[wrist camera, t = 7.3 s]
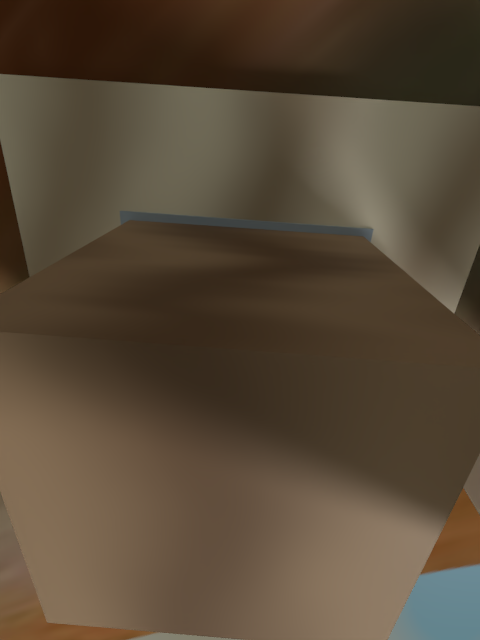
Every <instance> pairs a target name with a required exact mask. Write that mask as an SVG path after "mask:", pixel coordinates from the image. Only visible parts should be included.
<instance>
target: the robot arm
mask: <svg viewBox="0 0 480 640" xmlns="http://www.w3.org/2000/svg"><path fill="white" fill-rule="evenodd" d="M463 488H464V490H465V491H466V493H467V495H468V496H469V498H470V500H471V501H472V503H473V505H474V506H475V508H476V510H477V511H478V513H479V515H480V454H479V456H478V458H477V460H476V462H475V464H474V466H473V468H472V470H471V472H470V474H469V476H468V478H467V480H466V482H465V485H464V487H463Z"/></svg>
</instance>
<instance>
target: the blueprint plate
mask: <svg viewBox="0 0 480 640" xmlns="http://www.w3.org/2000/svg"><path fill="white" fill-rule="evenodd" d="M0 141H1V146H2V150H3V155H4V160H5V164H6V169H7V174H8V179H9V183H10V188H11V193H12V197H13V202H14V207H15V211H16V216H17V221H18V225H19V230H20V235H21V239H22V244H23V249H24V253H25V258H26V263H27V267H28V272H29V277H31V276H33V275H34V274H36V273H38V272H40V271H41V270H43V269H45V268H47V267H48V266H50V265H52V264H54V263H55V262H57V261H59V260H61V259H62V258H64V257H66V256H68V255H69V254H71V253H73V252H75V251H76V250H78V249H80V248H82V247H83V246H85V245H87V244H89V243H90V242H92V241H94V240H96V239H97V238H99V237H101V236H103V235H104V234H106V233H108V232H109V231H111V230H113V229H115V228H116V227H118V226H120V225H122V224H123V223H125V222H127V221H129V220H135V221H150V222H164V223H179V224H193V225H208V226H222V227H236V228H251V229H265V230H280V231H294V232H309V233H323V234H337V235H352V236H364V237H365V238H366V239H367V240H368V241H369V242H371V243H372V244H373V245H374V246H375V247H377V248H378V249H379V250H380V251H381V252H382V253H384V254H385V255H386V256H387V257H388V258H389V259H391V260H392V261H393V262H394V263H395V264H396V265H398V266H399V267H400V268H401V269H402V270H404V271H405V272H406V273H407V274H408V275H409V276H411V277H412V278H413V279H414V280H415V281H416V282H418V283H419V284H420V285H421V286H422V287H423V288H425V289H426V290H427V291H428V292H429V293H430V294H432V295H433V296H434V297H435V298H436V299H438V300H439V301H440V302H441V303H442V304H443V305H445V306H446V307H447V308H448V309H449V310H450V311H452V312H453V313H455V310H456V308H457V305H458V302H459V300H460V297H461V294H462V291H463V289H464V286H465V283H466V281H467V278H468V275H469V272H470V270H471V267H472V264H473V262H474V259H475V256H476V253H477V251H478V248H479V245H480V106H467V105H452V104H438V103H423V102H408V101H393V100H378V99H364V98H349V97H334V96H319V95H304V94H289V93H275V92H260V91H245V90H230V89H215V88H200V87H186V86H171V85H156V84H141V83H126V82H112V81H97V80H82V79H67V78H52V77H37V76H23V75H8V74H0Z"/></svg>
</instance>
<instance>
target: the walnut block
mask: <svg viewBox="0 0 480 640" xmlns="http://www.w3.org/2000/svg"><path fill="white" fill-rule="evenodd" d="M479 454H480V335H479V334H477V333H476V332H475V331H474V330H473V329H472V328H470V327H469V326H468V325H467V324H466V323H464V322H463V321H462V320H461V319H460V318H459V317H457V316H456V315H455V314H454V313H453V312H452V311H450V310H449V309H448V308H447V307H446V306H445V305H443V304H442V303H441V302H440V301H439V300H438V299H436V298H435V297H434V296H433V295H432V294H430V293H429V292H428V291H427V290H426V289H425V288H423V287H422V286H421V285H420V284H419V283H418V282H416V281H415V280H414V279H413V278H412V277H411V276H409V275H408V274H407V273H406V272H405V271H404V270H402V269H401V268H400V267H399V266H398V265H396V264H395V263H394V262H393V261H392V260H391V259H389V258H388V257H387V256H386V255H385V254H384V253H382V252H381V251H380V250H379V249H378V248H377V247H375V246H374V245H373V244H372V243H371V242H369V241H368V240H367V239H366V238H365V237H364V236H352V235H337V234H323V233H309V232H294V231H280V230H265V229H251V228H236V227H222V226H208V225H193V224H179V223H164V222H150V221H135V220H129V221H127V222H125V223H123V224H122V225H120V226H118V227H116V228H115V229H113V230H111V231H109V232H108V233H106V234H104V235H103V236H101V237H99V238H97V239H96V240H94V241H92V242H90V243H89V244H87V245H85V246H83V247H82V248H80V249H78V250H76V251H75V252H73V253H71V254H69V255H68V256H66V257H64V258H62V259H61V260H59V261H57V262H55V263H54V264H52V265H50V266H48V267H47V268H45V269H43V270H41V271H40V272H38V273H36V274H34V275H33V276H31V277H29V278H27V279H26V280H24V281H22V282H20V283H19V284H17V285H15V286H13V287H12V288H10V289H8V290H7V291H5V292H3V293H1V294H0V492H1V494H2V497H3V500H4V503H5V506H6V508H7V511H8V514H9V517H10V520H11V522H12V525H13V528H14V531H15V534H16V536H17V539H18V542H19V545H20V548H21V550H22V553H23V556H24V559H25V562H26V564H27V567H28V570H29V573H30V576H31V578H32V581H33V584H34V587H35V590H36V592H37V595H38V598H39V601H40V604H41V606H42V609H43V612H44V615H45V618H46V620H47V623H59V624H71V625H82V626H94V627H105V628H117V629H128V630H140V631H151V632H163V633H174V634H186V635H197V636H209V637H221V638H232V639H243V640H387V639H388V638H389V636H390V634H391V632H392V629H393V628H394V626H395V624H396V621H397V619H398V617H399V615H400V613H401V611H402V609H403V607H404V605H405V603H406V601H407V599H408V597H409V595H410V593H411V591H412V589H413V587H414V585H415V583H416V581H417V579H418V577H419V575H420V573H421V571H422V569H423V567H424V565H425V563H426V561H427V559H428V557H429V555H430V553H431V551H432V549H433V547H434V545H435V543H436V541H437V539H438V537H439V535H440V533H441V531H442V529H443V527H444V525H445V523H446V521H447V519H448V517H449V515H450V513H451V511H452V509H453V507H454V505H455V503H456V501H457V499H458V497H459V495H460V493H461V491H462V489H463V487H464V485H465V482H466V480H467V478H468V476H469V474H470V472H471V470H472V468H473V466H474V464H475V462H476V460H477V458H478V456H479Z"/></svg>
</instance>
